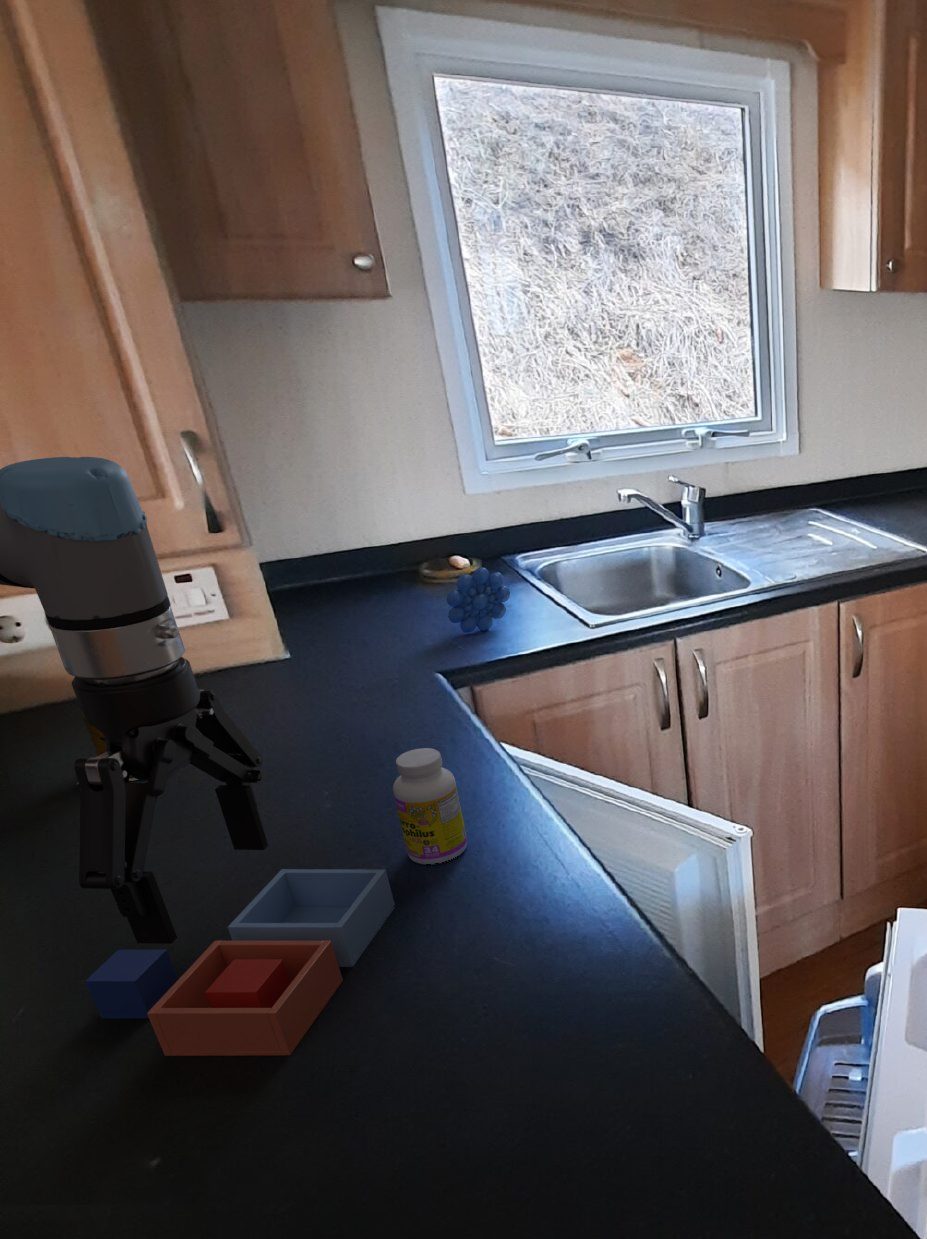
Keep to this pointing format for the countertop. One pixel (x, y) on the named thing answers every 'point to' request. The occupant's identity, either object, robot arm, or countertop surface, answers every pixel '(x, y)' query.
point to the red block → (249, 984)
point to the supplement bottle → (428, 807)
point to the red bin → (246, 1031)
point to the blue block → (131, 983)
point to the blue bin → (319, 909)
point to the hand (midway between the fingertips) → (207, 891)
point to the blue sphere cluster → (478, 600)
